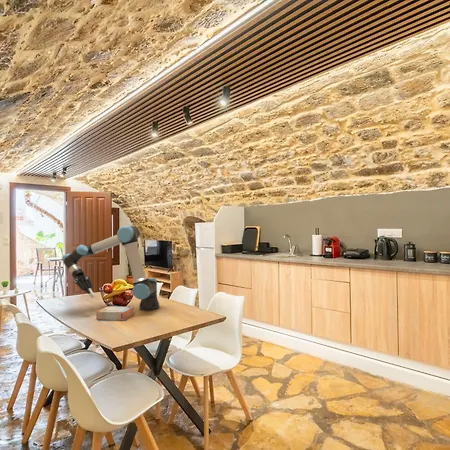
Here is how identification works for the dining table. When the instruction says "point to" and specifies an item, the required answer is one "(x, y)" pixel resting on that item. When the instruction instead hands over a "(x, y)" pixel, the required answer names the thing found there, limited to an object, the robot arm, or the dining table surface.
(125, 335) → the dining table surface
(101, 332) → the dining table surface
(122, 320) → the mat
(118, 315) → the cracker box
